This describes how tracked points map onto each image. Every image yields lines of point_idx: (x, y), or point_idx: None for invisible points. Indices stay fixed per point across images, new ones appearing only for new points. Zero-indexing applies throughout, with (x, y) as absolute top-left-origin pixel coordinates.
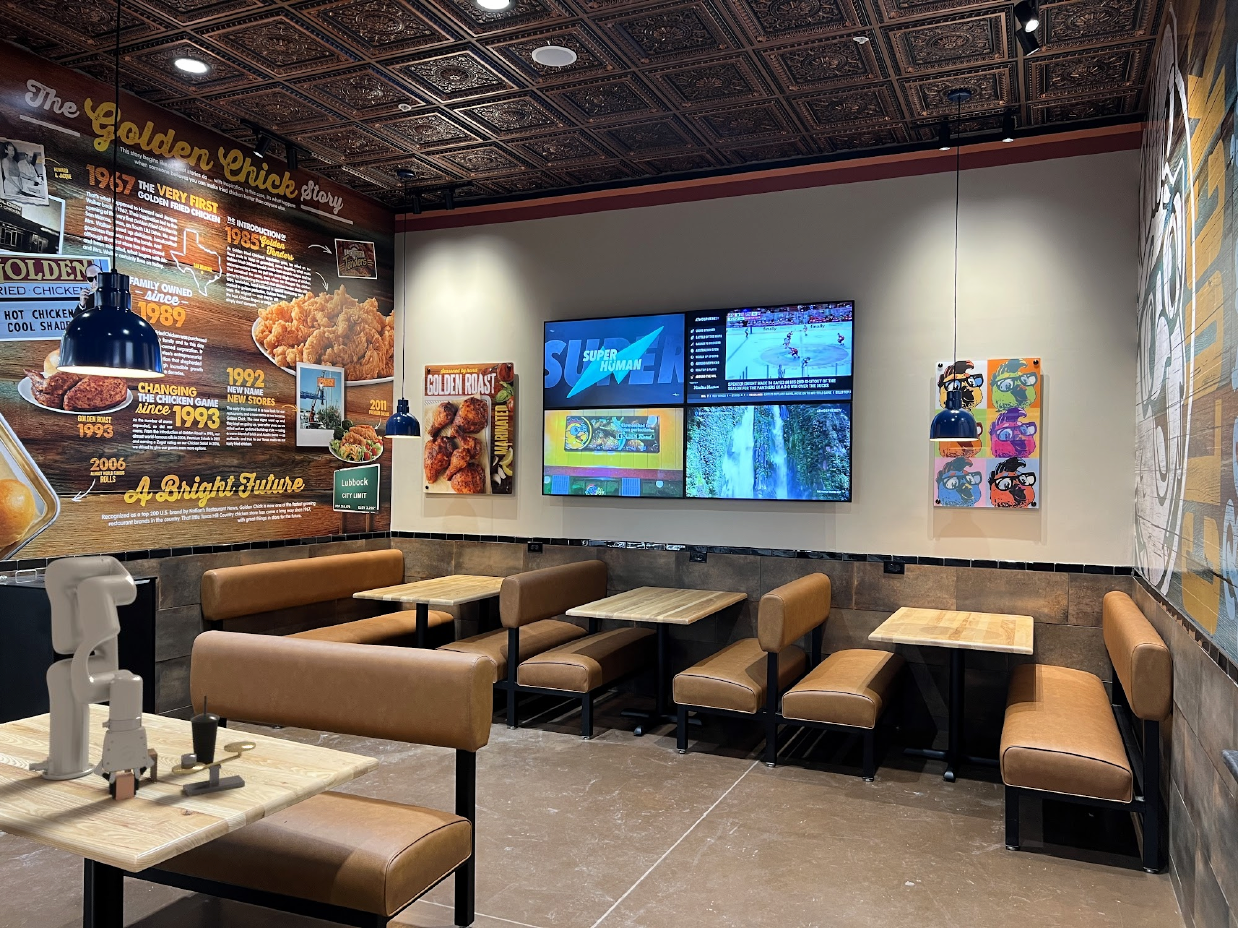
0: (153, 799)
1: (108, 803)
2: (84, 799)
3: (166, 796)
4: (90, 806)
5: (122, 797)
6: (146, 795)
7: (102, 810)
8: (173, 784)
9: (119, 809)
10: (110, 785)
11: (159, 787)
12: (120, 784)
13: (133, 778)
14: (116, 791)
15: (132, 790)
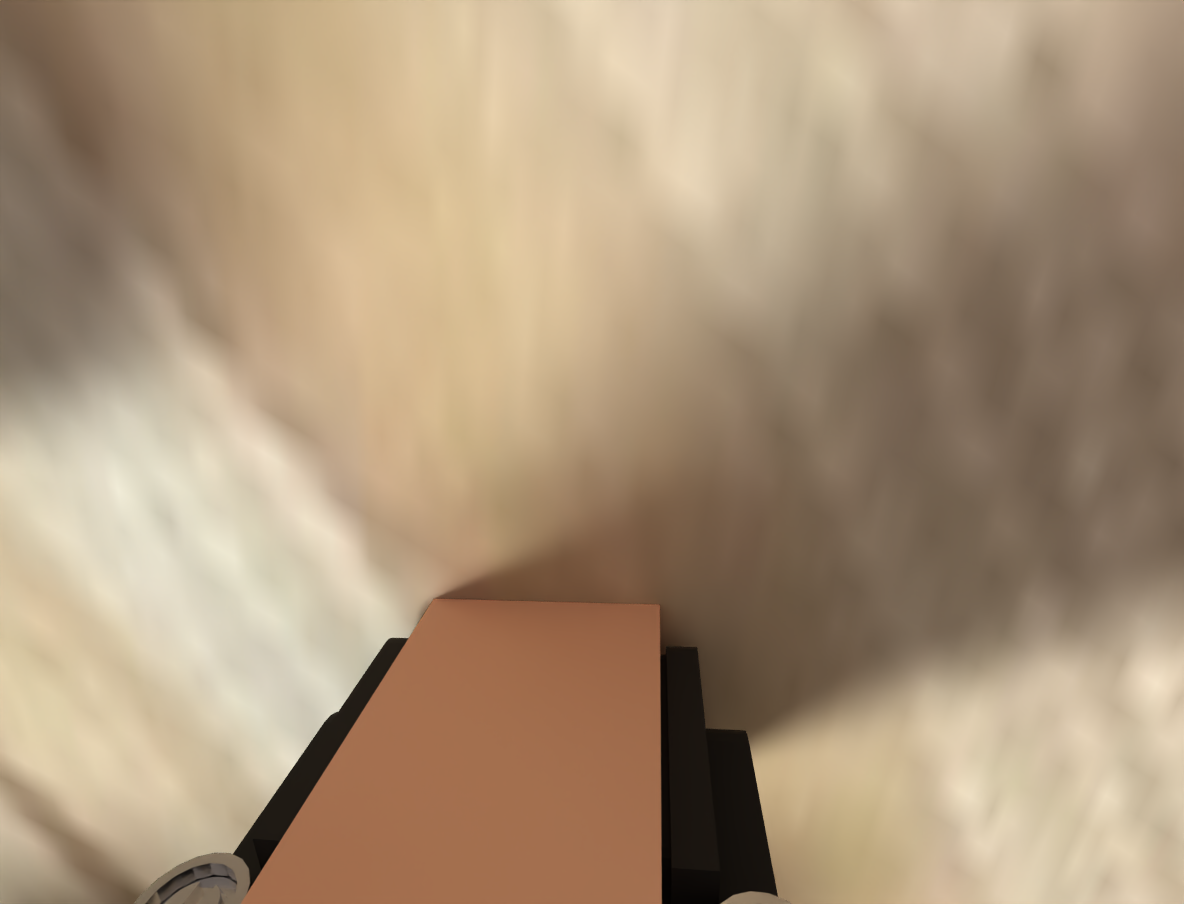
0: (167, 332)
1: (781, 521)
2: (1008, 847)
3: (4, 368)
4: (1044, 533)
5: (574, 617)
6: (276, 568)
7: (951, 205)
8: (11, 773)
9: (684, 85)
10: (762, 864)
11: (150, 764)
12: (581, 790)
13: (287, 856)
14: (658, 696)
15: (413, 662)
